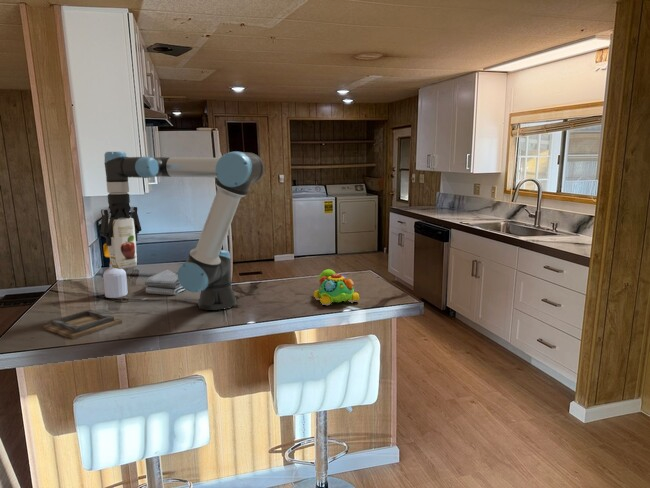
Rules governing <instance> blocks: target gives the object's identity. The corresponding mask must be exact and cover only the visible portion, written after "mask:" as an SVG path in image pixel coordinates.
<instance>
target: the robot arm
mask: <svg viewBox="0 0 650 488" xmlns="http://www.w3.org/2000/svg"><path fill="white" fill-rule="evenodd" d="M104 169H105V177H106V178H105V179H106V180H105V181H106V190H107V191H106V192H107V193H108V194H107V204H108V207H107V208H106V209H104V208H103V209H100V213H101V219H100V220H101V223H100V232H99V236H101V237H104V238H105V243H106V245H107V246H108V249H109V254H113V255H114V254H115V248H114V237H111V236H112V233H113V221H114V220H117V219H118V218H133V220H134V227H135V240H136V242H138V234H139V233H140V232H142V225H141V221H140V219H139V215H138V207H137V206H131V205H130V202H131V200H130V194H129V192H130V187H129V178H138V179H139V178H141V179H142V178H143V179H150V178H155V177H156V178H157V177H158V178H159V177H163V178H164V177H167V178H168V177H169V178H171V177H172V178H173V177H175V178H176V177H177V178H213V179H214V178H215V182H214V185H215V186H216V189H217V190H216V192H215V195H214V198H213V201H212V203H211V207H210V208H209V211H208V215H207V218H206V219H205V222H204V225H203V229H202V231H201V233H200V237H199V239H198V241H197V244H196V247H195V248H192V249H191V250H190V251H189V253H188V257H187V258H186V262H183V263H181V265H180V266H179V267H178V269H177V273H176V274H177V276H178V280H179V281H180V284H181V286H182V287H183V288H184V289H185V290H186V291H187V292H190V293H199V292H200V293H199V298H198V303H197V306H199V307H198V309H200V308H201V309H200V310H202V309H206V310H205V311H207V310H217V309H224V308H228V307H231V306H233V305H235V304H236V305H237V298H236V296H235V293H234V289H233V287H232V270H231V268H232V266H231V263H232V262H231V260H232V259H231V254H230V251H228V250H227V249H222V248H223V245H224V243H225V240H226V238H227V235H228V232H229V230H230V227H231V225H232V222H233V218H234V217H235V214H236V211H237V209H238V206H239V203H240V201H241V199H242V198H243V197H246V196H247V195H248V192H249V190H250V188H251V185H254V184H256V183H257V182H259V181H260V180H261V179H262V177H263V175H264V172H265V165H264V162H263V160H262V159H261V157H260V156H259V155H257V154H255V153H253V152H248V151H247V152H245V151H244V152H243V151H237V150H235V151H230V152H227V153H225V154H223V155H222V156H221V157H176V156H175V157H166V156H158V157H157V156H154V157H153V156H152V157H151V156H150V157H149V156H133V157H132V156H127V153H126V152H125V151H106V152H105V153H104ZM109 215H110V216H109ZM108 219H110V221H109V224H108ZM136 251H137V246H136ZM236 305H235V306H236Z"/></svg>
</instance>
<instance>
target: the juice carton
mask: <svg viewBox="0 0 650 488" xmlns="http://www.w3.org/2000/svg"><path fill="white" fill-rule="evenodd" d="M109 221H110V218H109V219H108V224H109ZM111 237H114V248H115V254H114V255H113V254H110V258H109V263H110V262H111V266H112V267H113V268H117V269H123V270H125V269H128V268H135V267H137V263H138V260H137V259H138V257H137V256H138V255H137V253H138V252H137V250H136V247H137V241H136V240H135V227H134V220H133V218H132V217H131V218H122V217H121V218H118V219H117V220H114V221H113V233H112V236H111Z"/></svg>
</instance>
